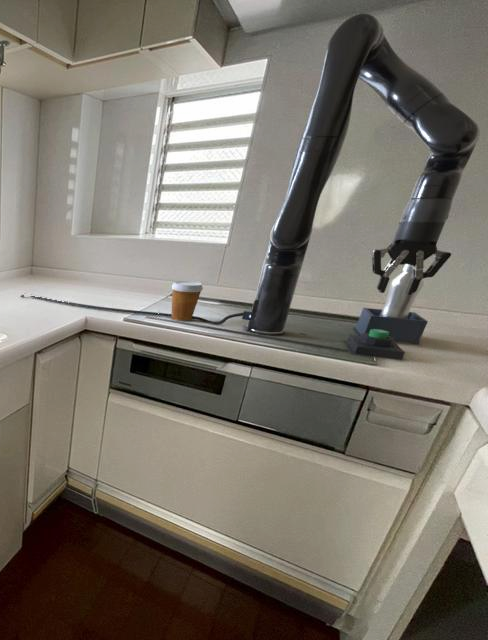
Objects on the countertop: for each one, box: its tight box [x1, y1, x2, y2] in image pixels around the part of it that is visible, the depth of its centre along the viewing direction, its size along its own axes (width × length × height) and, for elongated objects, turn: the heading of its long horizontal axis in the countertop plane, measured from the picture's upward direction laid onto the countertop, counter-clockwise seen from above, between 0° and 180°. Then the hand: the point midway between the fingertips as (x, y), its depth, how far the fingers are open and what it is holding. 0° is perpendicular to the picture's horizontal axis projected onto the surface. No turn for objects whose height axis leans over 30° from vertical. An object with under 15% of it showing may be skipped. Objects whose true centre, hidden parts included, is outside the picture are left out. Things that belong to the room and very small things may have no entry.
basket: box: [355, 307, 429, 345], centre depth 117 cm, size 12×12×7 cm
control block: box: [346, 333, 406, 361], centre depth 105 cm, size 9×12×4 cm
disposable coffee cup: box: [170, 280, 204, 322], centre depth 135 cm, size 10×10×12 cm
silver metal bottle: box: [379, 264, 424, 319], centre depth 114 cm, size 6×7×20 cm
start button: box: [368, 329, 389, 339], centre depth 104 cm, size 4×4×2 cm
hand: (394, 292), depth 100 cm, fingers open, 4 cm apart
